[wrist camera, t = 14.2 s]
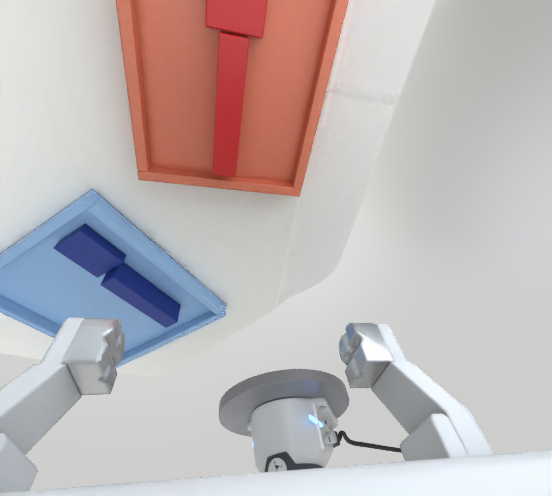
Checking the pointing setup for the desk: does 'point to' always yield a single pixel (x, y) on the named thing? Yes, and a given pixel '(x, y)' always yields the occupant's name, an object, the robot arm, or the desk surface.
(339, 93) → the desk surface
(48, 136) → the desk surface
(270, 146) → the red tray
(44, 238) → the blue tray
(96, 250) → the navy stepped bar
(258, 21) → the red stepped bar
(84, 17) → the desk surface
